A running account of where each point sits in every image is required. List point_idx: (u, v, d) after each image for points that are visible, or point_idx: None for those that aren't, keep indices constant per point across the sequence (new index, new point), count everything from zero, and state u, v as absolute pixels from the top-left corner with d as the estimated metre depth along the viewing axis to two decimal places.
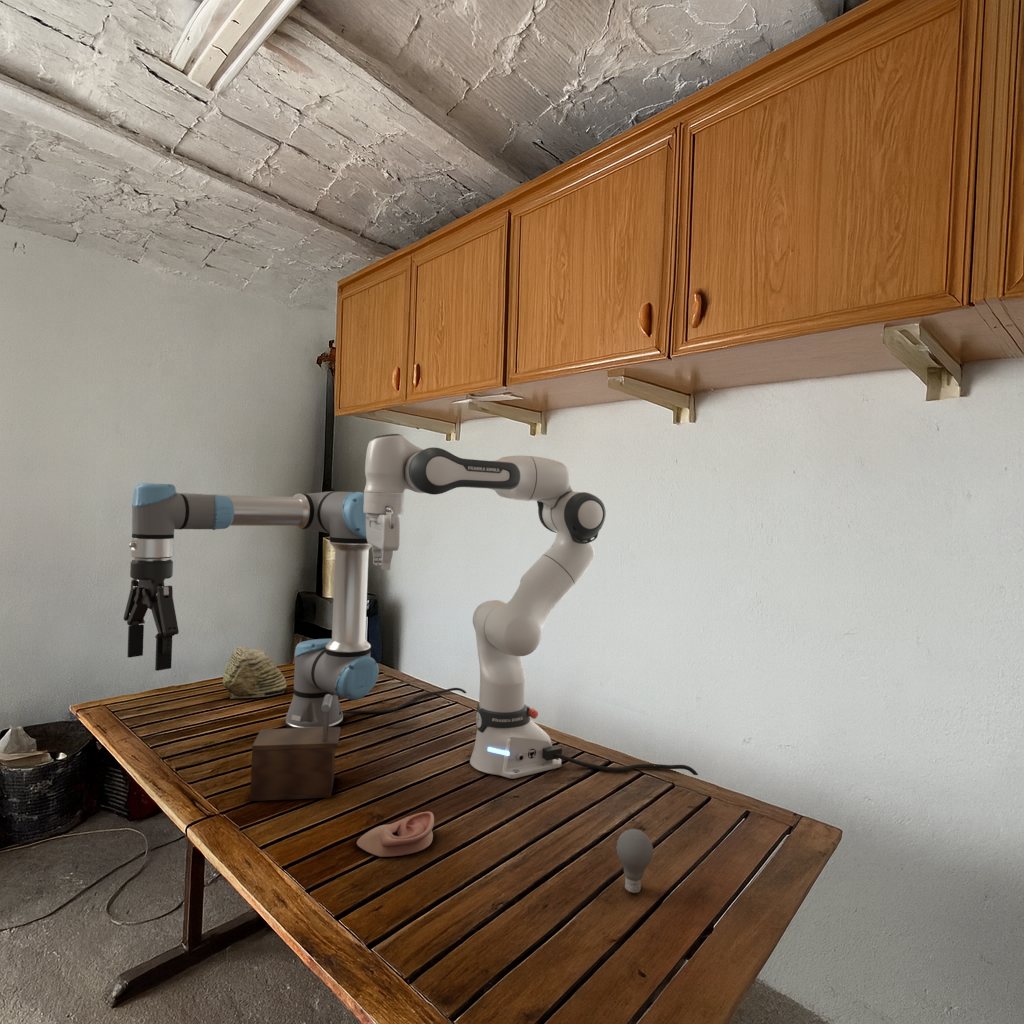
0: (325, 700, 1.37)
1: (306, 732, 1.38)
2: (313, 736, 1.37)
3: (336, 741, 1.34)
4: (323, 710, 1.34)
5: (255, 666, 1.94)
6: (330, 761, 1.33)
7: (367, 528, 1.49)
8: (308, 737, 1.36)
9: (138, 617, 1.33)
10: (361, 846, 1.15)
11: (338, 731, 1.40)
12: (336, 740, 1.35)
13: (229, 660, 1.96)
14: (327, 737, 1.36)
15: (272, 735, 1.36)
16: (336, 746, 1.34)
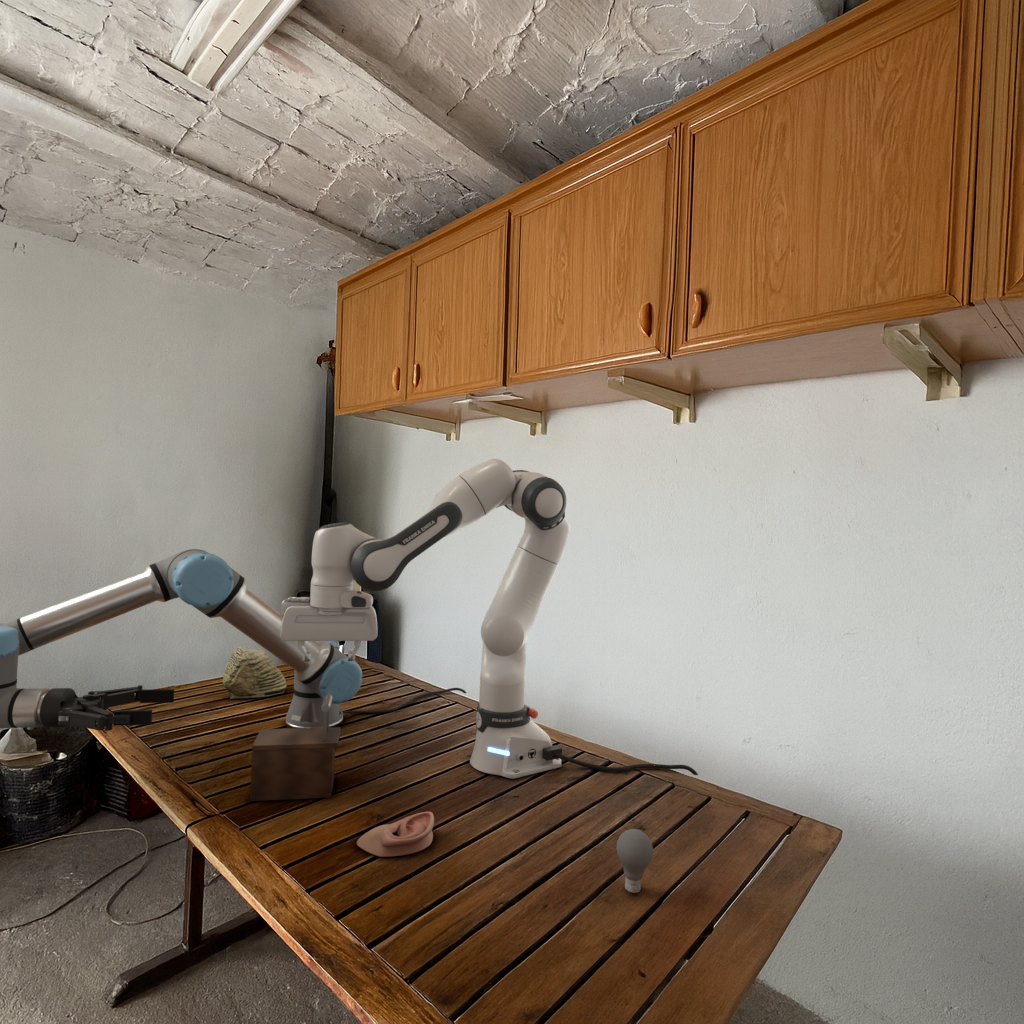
0: (325, 700, 1.37)
1: (306, 732, 1.38)
2: (313, 736, 1.37)
3: (336, 741, 1.34)
4: (323, 710, 1.34)
5: (255, 666, 1.94)
6: (330, 761, 1.33)
7: None
8: (308, 737, 1.36)
9: (129, 697, 1.35)
10: (361, 846, 1.15)
11: (338, 731, 1.40)
12: (336, 740, 1.35)
13: (229, 660, 1.96)
14: (327, 737, 1.36)
15: (272, 735, 1.36)
16: (336, 746, 1.34)
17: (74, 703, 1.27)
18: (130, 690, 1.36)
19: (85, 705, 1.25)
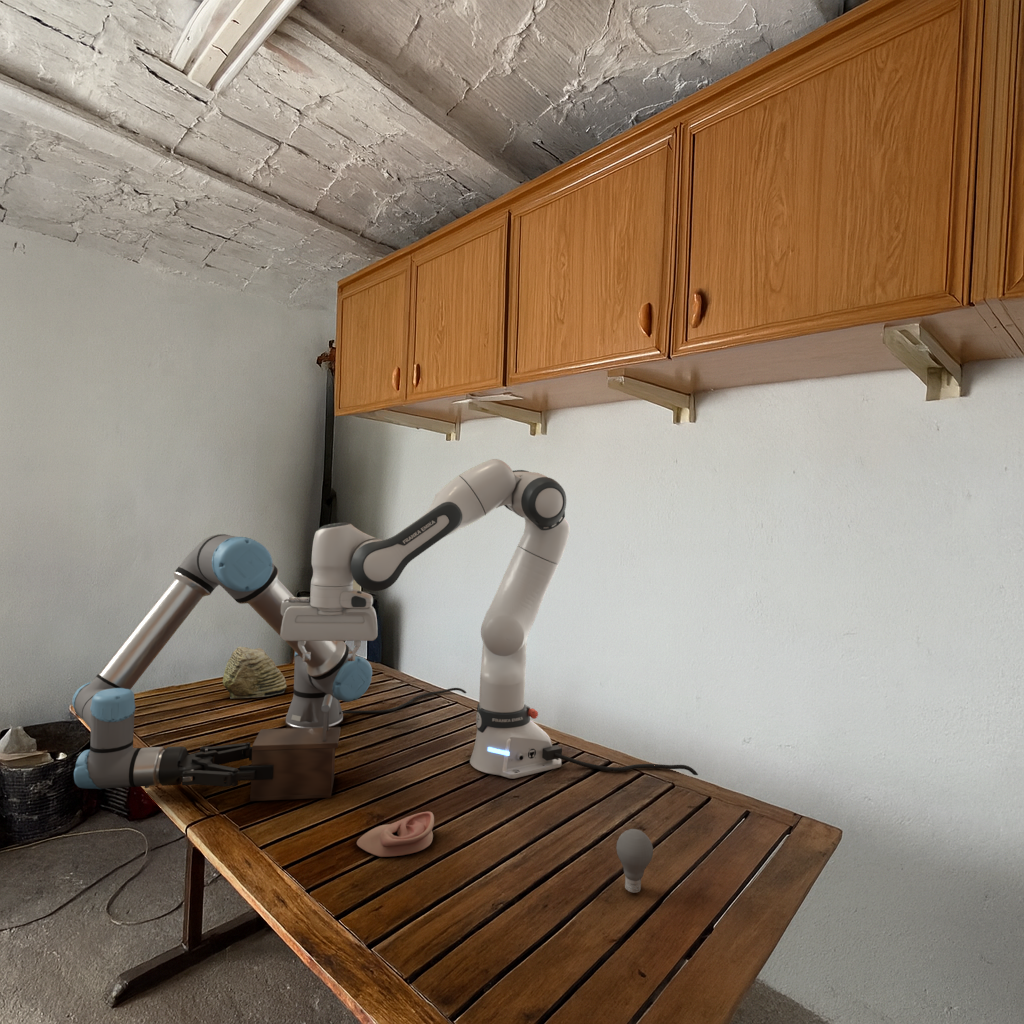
0: (325, 700, 1.37)
1: (306, 732, 1.38)
2: (313, 736, 1.37)
3: (336, 741, 1.34)
4: (323, 710, 1.34)
5: (255, 666, 1.94)
6: (330, 761, 1.33)
7: None
8: (308, 737, 1.36)
9: (238, 754, 1.38)
10: (361, 846, 1.15)
11: (338, 731, 1.40)
12: (336, 740, 1.35)
13: (229, 660, 1.96)
14: (327, 737, 1.36)
15: (272, 735, 1.36)
16: (336, 746, 1.34)
17: (189, 762, 1.31)
18: (239, 747, 1.39)
19: (204, 763, 1.30)
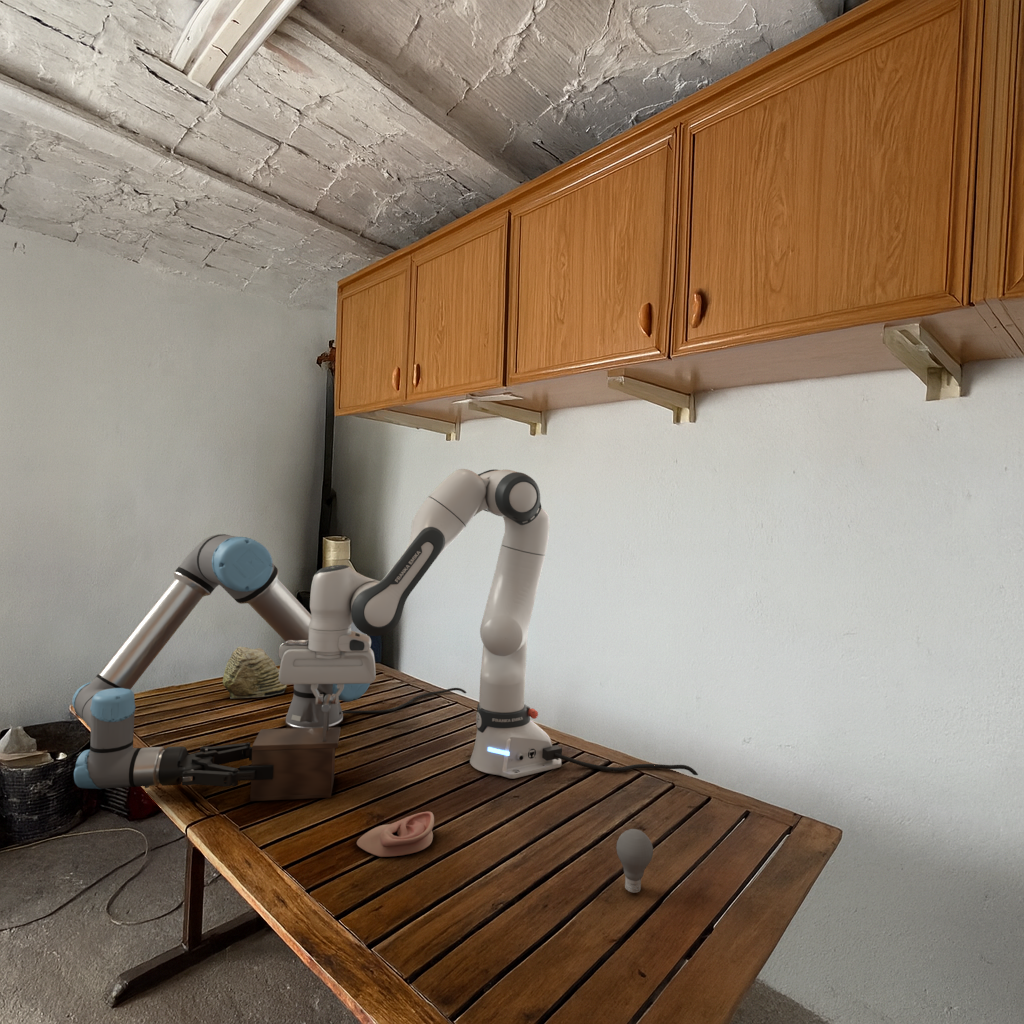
0: (325, 700, 1.37)
1: (306, 732, 1.38)
2: (313, 736, 1.37)
3: (336, 741, 1.34)
4: (323, 710, 1.34)
5: (255, 666, 1.94)
6: (330, 761, 1.33)
7: None
8: (308, 737, 1.36)
9: (238, 754, 1.38)
10: (361, 846, 1.15)
11: (338, 731, 1.40)
12: (336, 740, 1.35)
13: (229, 660, 1.96)
14: (327, 737, 1.36)
15: (272, 735, 1.36)
16: (336, 746, 1.34)
17: (189, 762, 1.31)
18: (239, 747, 1.39)
19: (204, 763, 1.30)
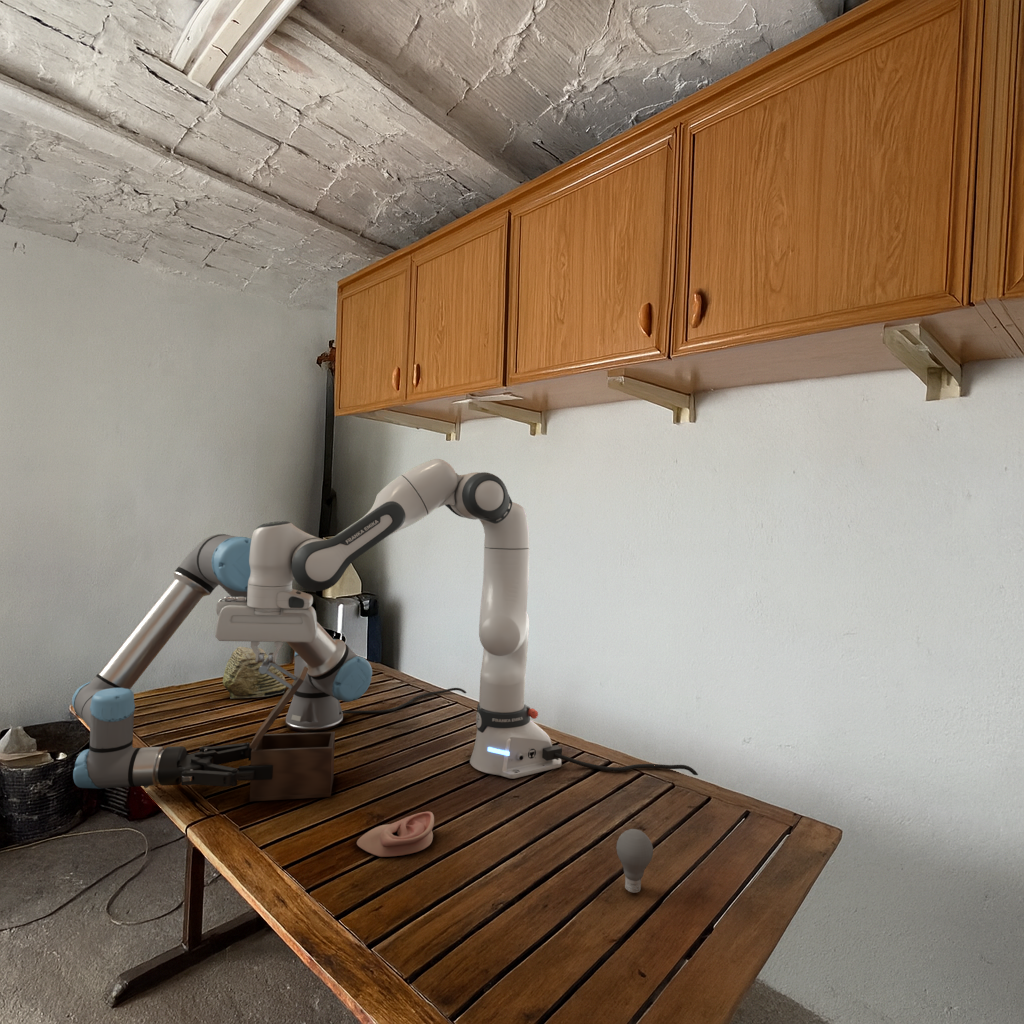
0: None
1: (283, 696, 1.37)
2: (286, 693, 1.35)
3: (299, 678, 1.33)
4: (263, 672, 1.31)
5: (255, 666, 1.94)
6: (329, 761, 1.33)
7: None
8: (283, 698, 1.35)
9: (237, 754, 1.38)
10: (361, 846, 1.15)
11: (302, 670, 1.38)
12: (299, 677, 1.33)
13: (229, 660, 1.96)
14: (294, 683, 1.35)
15: (262, 725, 1.36)
16: (301, 680, 1.32)
17: (188, 762, 1.31)
18: (238, 747, 1.39)
19: (203, 763, 1.30)
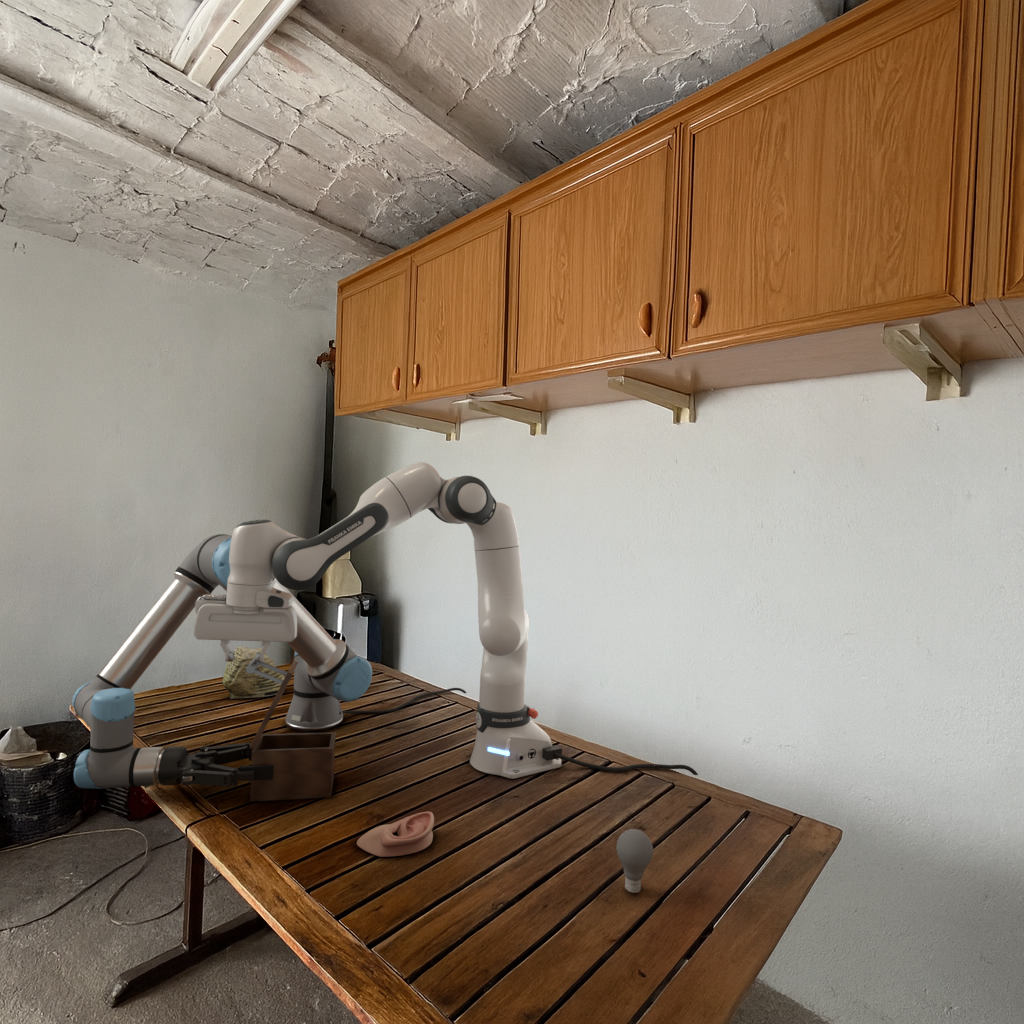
0: None
1: None
2: None
3: (287, 672, 1.32)
4: (250, 672, 1.31)
5: None
6: (330, 761, 1.33)
7: None
8: None
9: (238, 754, 1.38)
10: (361, 846, 1.15)
11: None
12: (288, 671, 1.33)
13: None
14: None
15: None
16: (290, 674, 1.31)
17: (189, 762, 1.31)
18: (239, 747, 1.39)
19: (204, 763, 1.30)
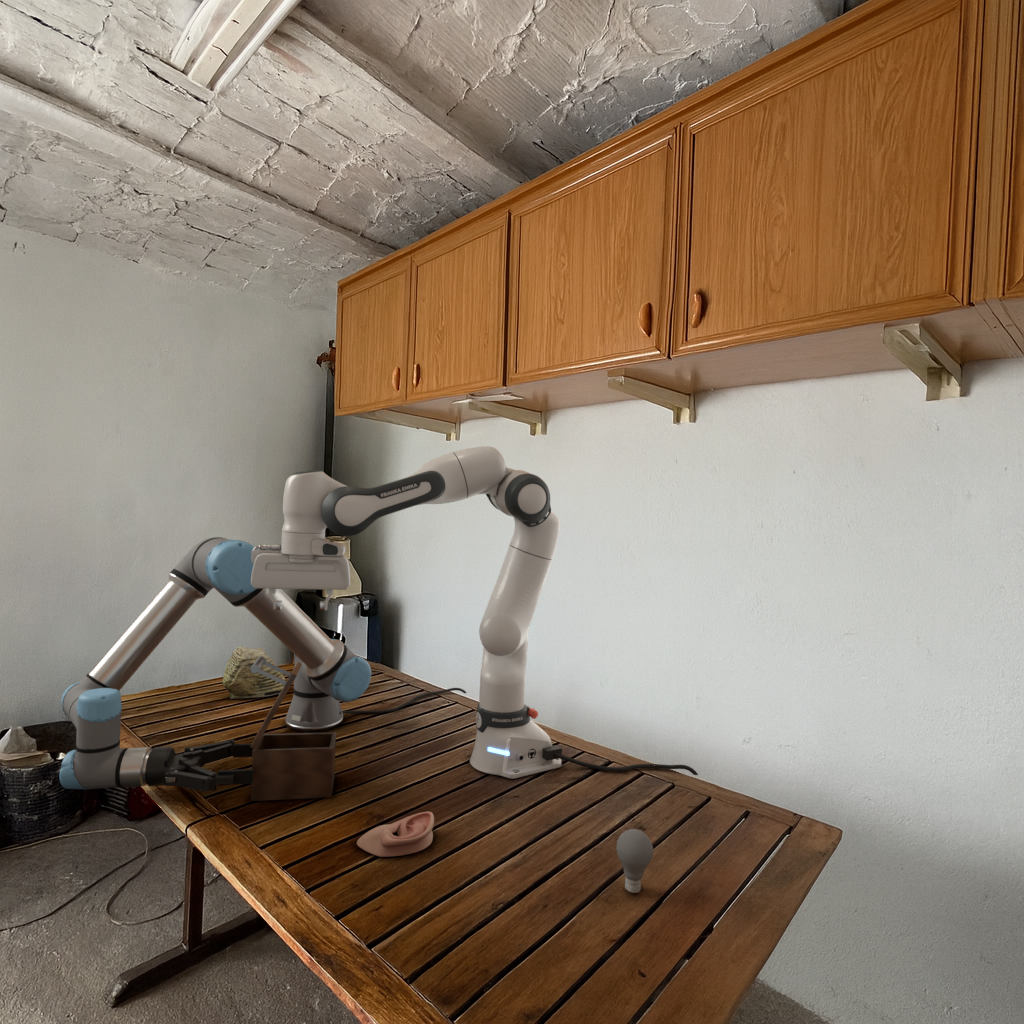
0: None
1: (279, 694, 1.37)
2: (282, 690, 1.35)
3: (291, 673, 1.32)
4: (255, 671, 1.31)
5: None
6: (330, 761, 1.34)
7: None
8: None
9: (223, 752, 1.39)
10: (361, 846, 1.15)
11: (295, 666, 1.38)
12: (292, 672, 1.33)
13: (229, 660, 1.96)
14: None
15: (262, 724, 1.36)
16: (294, 675, 1.32)
17: (176, 762, 1.30)
18: (223, 745, 1.40)
19: (188, 765, 1.29)
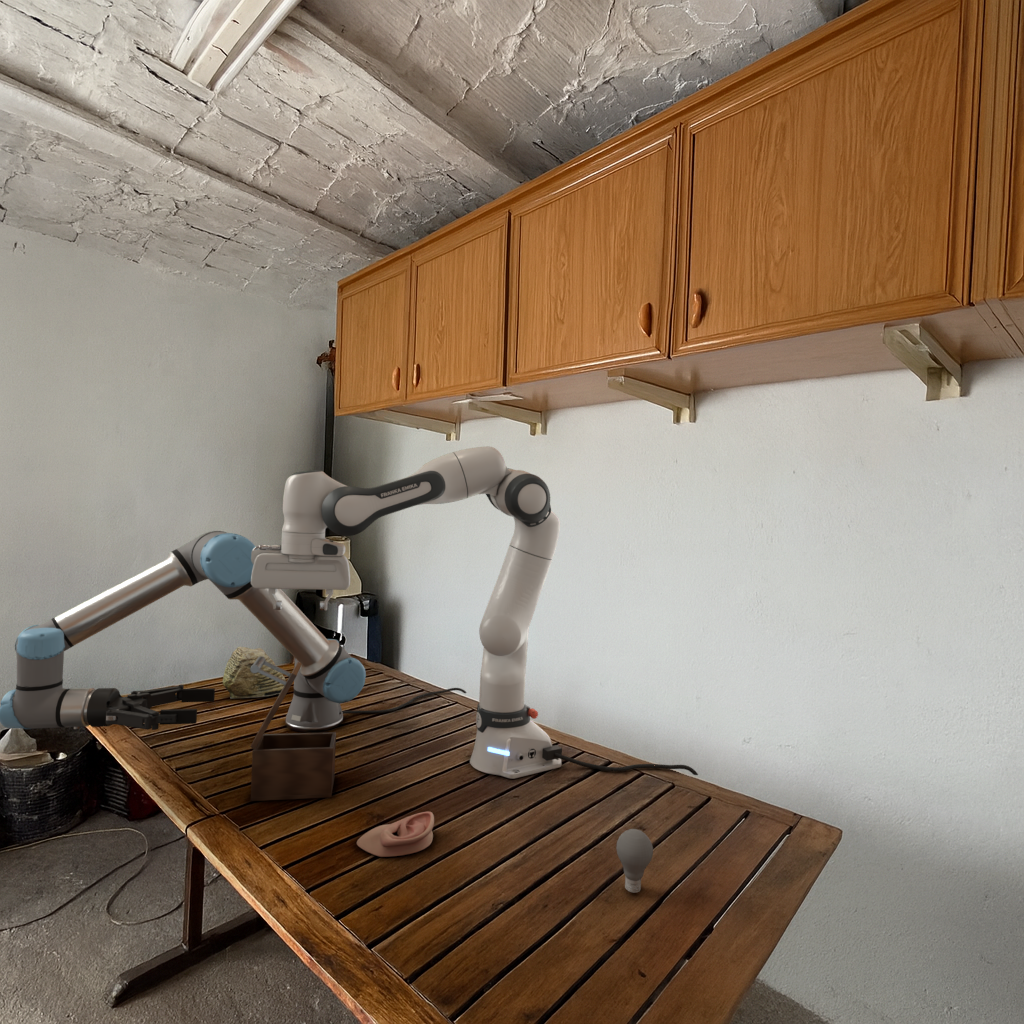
0: None
1: (279, 694, 1.37)
2: (282, 690, 1.35)
3: (291, 673, 1.32)
4: (255, 671, 1.31)
5: None
6: (330, 761, 1.34)
7: None
8: None
9: (171, 696, 1.37)
10: (361, 846, 1.15)
11: (295, 666, 1.38)
12: (292, 672, 1.33)
13: (229, 660, 1.96)
14: None
15: (262, 724, 1.36)
16: (294, 675, 1.32)
17: (119, 703, 1.28)
18: (172, 690, 1.38)
19: (131, 705, 1.26)
